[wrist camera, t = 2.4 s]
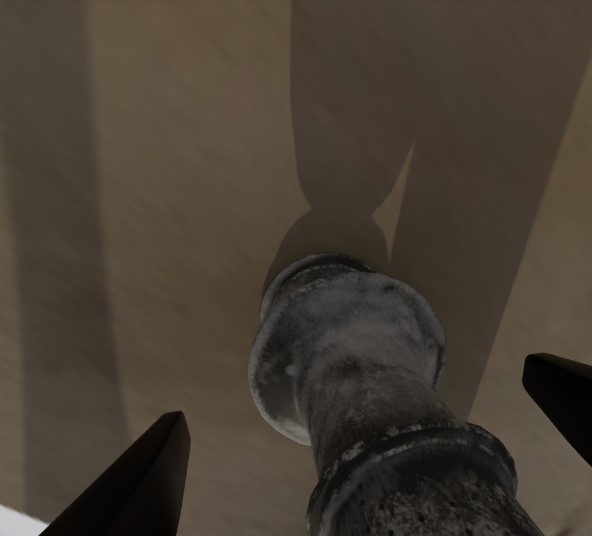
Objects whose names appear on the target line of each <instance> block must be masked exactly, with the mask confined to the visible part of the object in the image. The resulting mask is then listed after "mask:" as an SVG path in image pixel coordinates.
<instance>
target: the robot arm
mask: <svg viewBox="0 0 592 536" xmlns="http://www.w3.org/2000/svg"><path fill="white" fill-rule="evenodd" d="M522 383H523V386H524V388H525V390H526V391H527V393H528V394H529V395H530V396H531V398H532V399H533V400H534V401H535V402H536V404H537V405H538V406H539V407H540V408H541V410H542V411H543V412H544V413H545V415H546V416H547V417H548V418H549V419H550V421H551V422H552V423H553V424H554V425H555V427H556V428H557V429H558V430H559V432H560V433H561V434H562V435H563V436H564V438H565V439H566V440H567V441H568V442H569V443H570V445H571V446H572V447H573V448H574V449H575V450H576V451H577V452H578V453H579V454H580V456H581V457H582V458H583V459H584V460H585V461H586V462H587V463H588V464H589V465H590V466H591V467H592V366H590V365H586V364H583V363H579V362H576V361H572V360H569V359H565V358H562V357H559V356H555V355H552V354H548V353H536V354H530V355H528V356H527V357H526V358H525V363H524V370H523V377H522ZM190 444H191V442H190V434H189V431H188V427H187V423H186V419H185V416H184V413H183V412H182V411H174V412H168V413H165V414H163V415H162V416H161V417H160V418H159V419H158V420H157V421H156V422H155V423H154V424H153V425H152V426H151V427H150V428H149V429H148V430H147V431H146V432H145V433H144V434H143V435H142V436H140V437H139V438H138V439H137V440H136V441H135V442H134V443H133V444H132V445H131V446H130V447H129V448H128V449H127V450H126V451H125V452H124V453H123V454H122V455H121V456H120V457H119V458H118V459H117V460H116V461H115V462H114V463H113V464H112V465H111V466H110V467H109V468H108V469H107V470H105V471H104V472H103V473H102V474H101V475H100V476H99V477H98V478H97V479H96V480H95V481H94V482H93V483H92V484H91V485H90V486H89V487H88V488H87V489H86V490H85V491H84V492H83V493H82V494H81V495H80V496H79V497H78V498H77V499H76V500H75V501H74V502H73V503H72V504H70V505H69V506H68V507H67V508H66V509H65V510H64V511H63V512H62V513H61V514H60V515H59V516H58V517H57V518H56V519H55V520H54V521H53V522H52V523H51V524H50V525H49V526H48V527H47V528H46V529H45V530H44V531H43V532H42V533H41V534H40V535H39V536H176V533H177V529H178V524H179V520H180V514H181V508H182V501H183V494H184V487H185V480H186V473H187V467H188V460H189V453H190Z"/></svg>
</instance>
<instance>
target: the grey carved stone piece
mask: <svg viewBox="0 0 592 536" xmlns="http://www.w3.org/2000/svg"><path fill="white" fill-rule="evenodd" d="M260 323H261V325H260V327H259V329H258V332H257V334H256V336H255V339H254V341H253V343H252V346H251V348H250V355H249V364H248V373H247V376H248V381H249V386H250V391H251V396H252V399H253V400H254V402H255V404H256V406H257V408H258V409H259V411H260V413H261V415H262V417H263V418H264V419H266V420H267V421H268V422H269V423H270V424H271V425H272V426H273V427H274V428H275V429H276V430H277V431H278V432H279V433H281V434H283V435H285V436H287V437H289V438H290V439H292V440H294V441H296V442H298V443H300V444H304V445H308V446H311V448H312V454H313V460H314V465H315V471H316V477H317V482H318V484H317V485H316V487H315V489H314V491H313V492H312V494H311V496H310V501H309V505H308V510H307V514H306V523H307V530H308V536H544V534H543V533H542V532H541V531H540V529H539V528H538V527H537V526H536V524H535V523H534V522H533V520H532V519H531V518H530V517H529V515H528V514H527V513H526V512H525V510H524V509H523V508H522V507H521V505H520V504H519V503H518V502H517V500H516V499H515V497H516V490H517V484H518V478H517V473H516V468H515V463H514V460H513V458H512V457H511V455H510V454H509V452H508V451H507V449H506V448H505V446H504V445H503V443H502V442H501V441H500V440H499V439H498V438H496V437H495V436H494V435H492V434H491V433H489V432H488V431H486V430H485V429H483V428H482V427H481V426H478V425H474V424H471V423H468V422H464V421H461V420H458V419H457V418H456V417H455V415H454V414H453V413H452V412H451V410H450V409H449V408H448V407H447V406H446V404H445V403H444V402H443V401H442V399H441V398H440V397H439V396H438V394H437V393H436V392H435V391H436V390H437V388H438V386H439V382H440V379H441V376H442V373H443V370H444V367H445V360H446V339H445V336H444V332H443V328H442V324H441V321H440V319H439V317H438V316H437V314H436V313H435V311H434V310H433V308H432V306H431V305H430V303H429V302H428V300H426V299H425V298H424V297H423V296H421V295H420V294H419V293H418V292H416V291H415V290H414V289H413V288H412V287H410V286H409V285H408V284H406V283H403V282H401V281H398V280H396V279H393V278H391V277H389V276H386V275H384V274H376V272H375V271H374V270H372V269H371V268H370V267H369V266H367V265H366V264H365V263H364V262H362V261H361V260H358V259H356V258H353V257H351V256H348V255H346V254H338V253H329V252H327V253H320V254H313V255H309V256H307V257H304V258H302V259H299V260H297V261H295V262H293V263H292V264H290V265H289V266H288V267H286V268H285V269H284V270H282V271H281V272H280V273H279V274H278V275H277V276H276V278H275V279H274V280H273V281H272V283H271V284H270V285H269V286H268V289H267V291H266V293H265V296H264V298H263V301H262V305H261V313H260Z"/></svg>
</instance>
